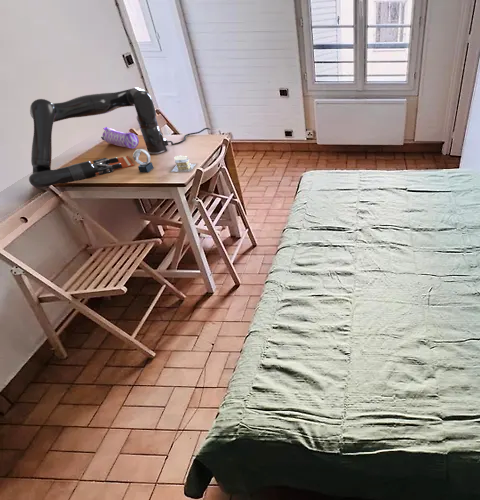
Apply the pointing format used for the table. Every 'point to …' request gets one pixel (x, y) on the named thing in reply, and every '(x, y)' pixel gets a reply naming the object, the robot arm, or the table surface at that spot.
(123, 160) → the cloth
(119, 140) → the pencil case
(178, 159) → the stacked layers on plate
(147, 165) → the watch
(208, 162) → the table surface
